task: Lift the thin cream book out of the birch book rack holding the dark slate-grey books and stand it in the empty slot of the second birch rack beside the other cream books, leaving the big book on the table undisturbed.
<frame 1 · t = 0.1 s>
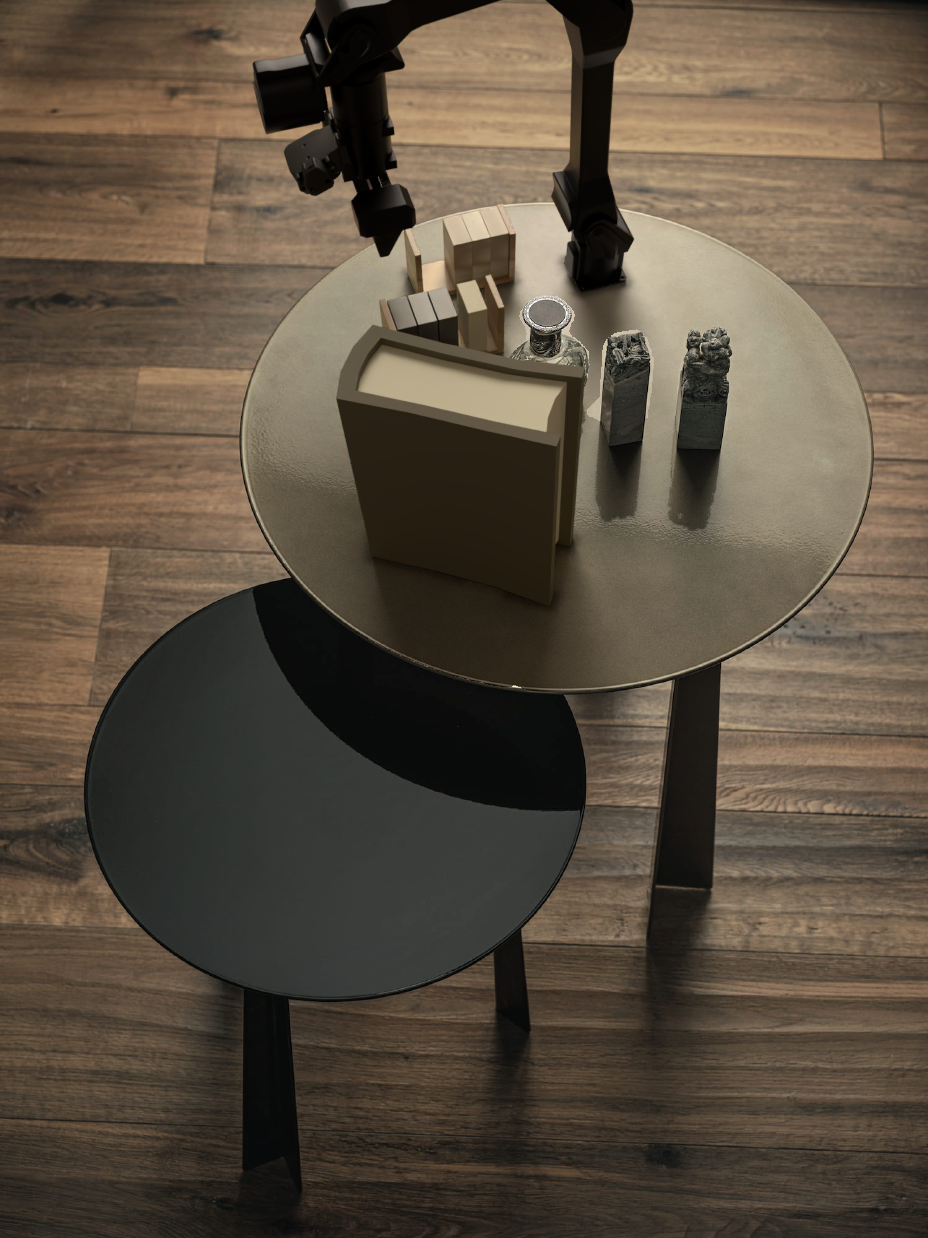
hand: (374, 228, 126), 15 cm above the table, tool pointing down, fingers open, 9 cm apart
book: (466, 546, 123), on the table
cream book: (472, 337, 137), point 1 cm above the table, touching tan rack
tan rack: (444, 349, 137), on the table
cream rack: (460, 276, 143), on the table
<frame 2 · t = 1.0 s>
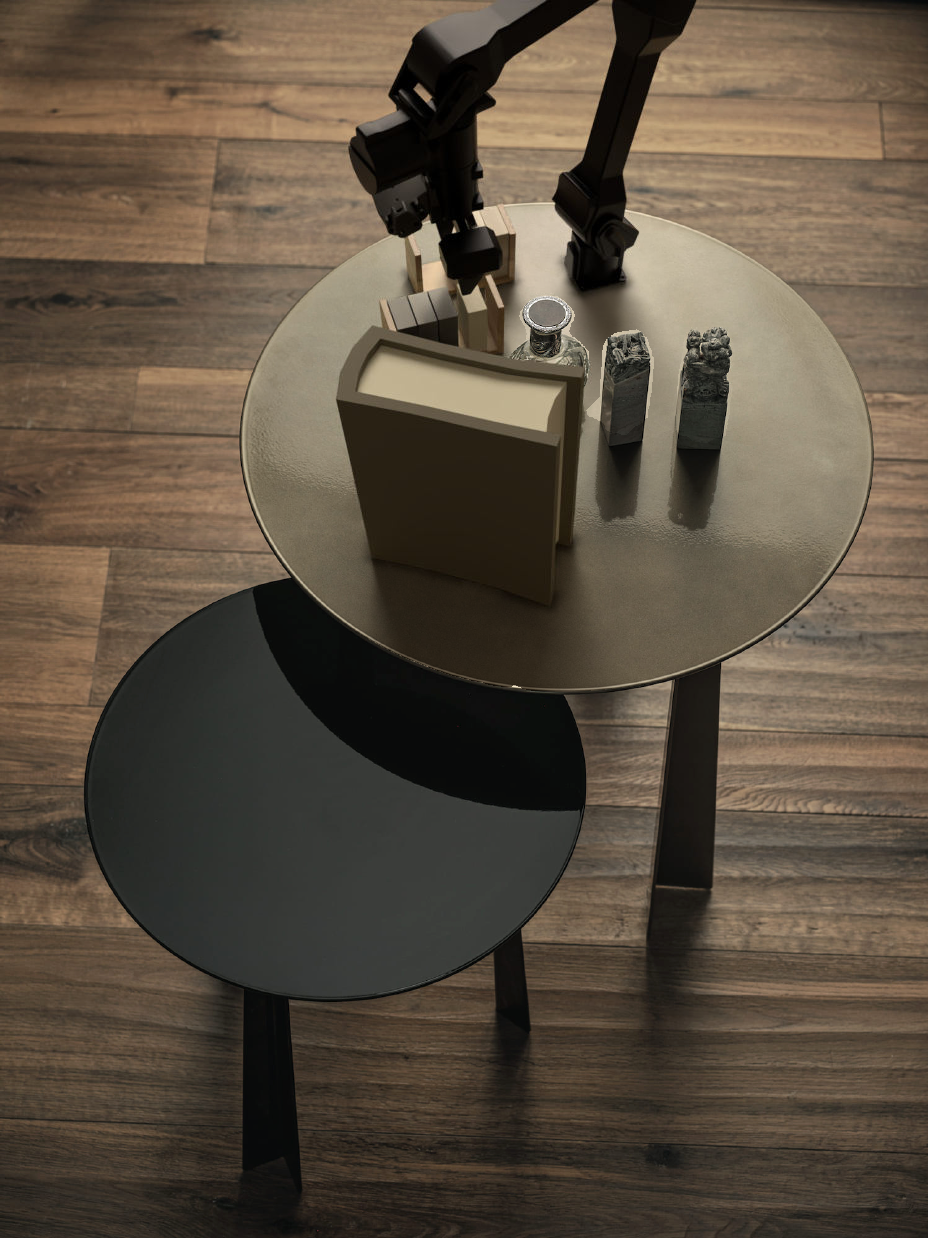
hand: (455, 266, 127), 12 cm above the table, tool pointing down, fingers open, 9 cm apart
nothing on the table moved.
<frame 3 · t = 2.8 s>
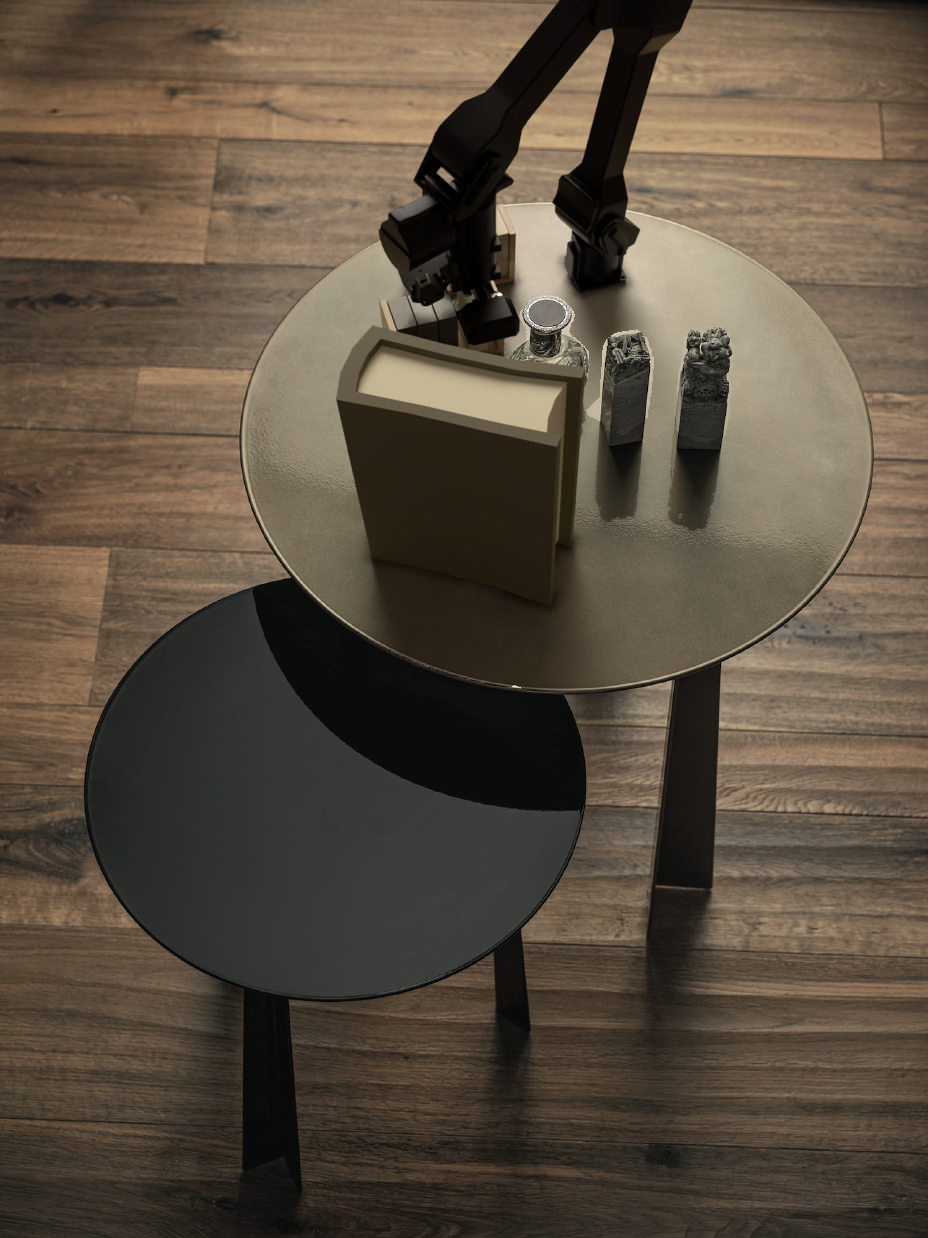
hand: (472, 327, 135), 3 cm above the table, tool pointing down, fingers closed on cream book, 5 cm apart
cream book: (472, 337, 137), point 1 cm above the table, touching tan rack, gripper
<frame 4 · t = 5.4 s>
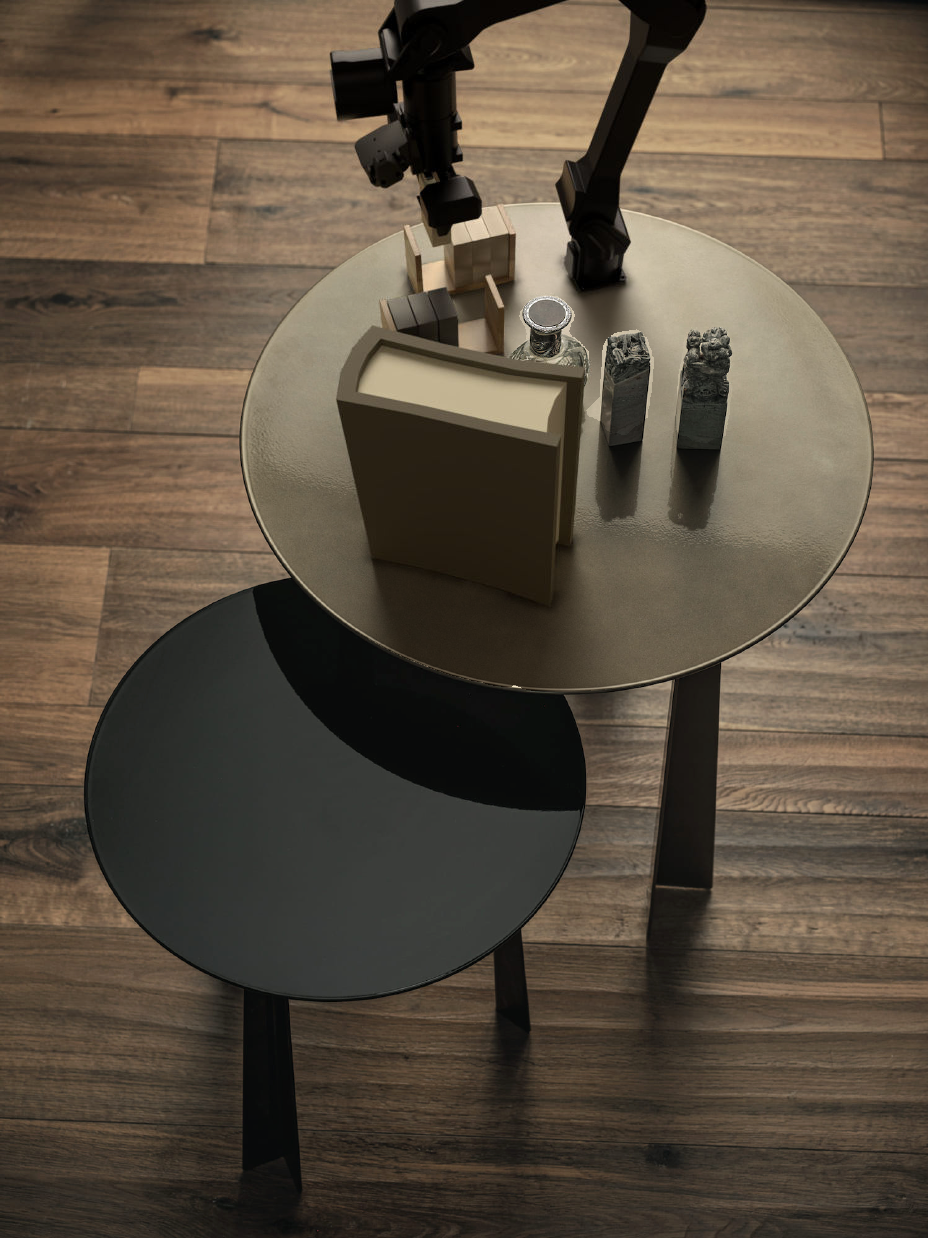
hand: (436, 220, 131), 12 cm above the table, tool pointing down, fingers closed on cream book, 5 cm apart
cream book: (436, 231, 133), point 10 cm above the table, touching gripper
everything else where it was.
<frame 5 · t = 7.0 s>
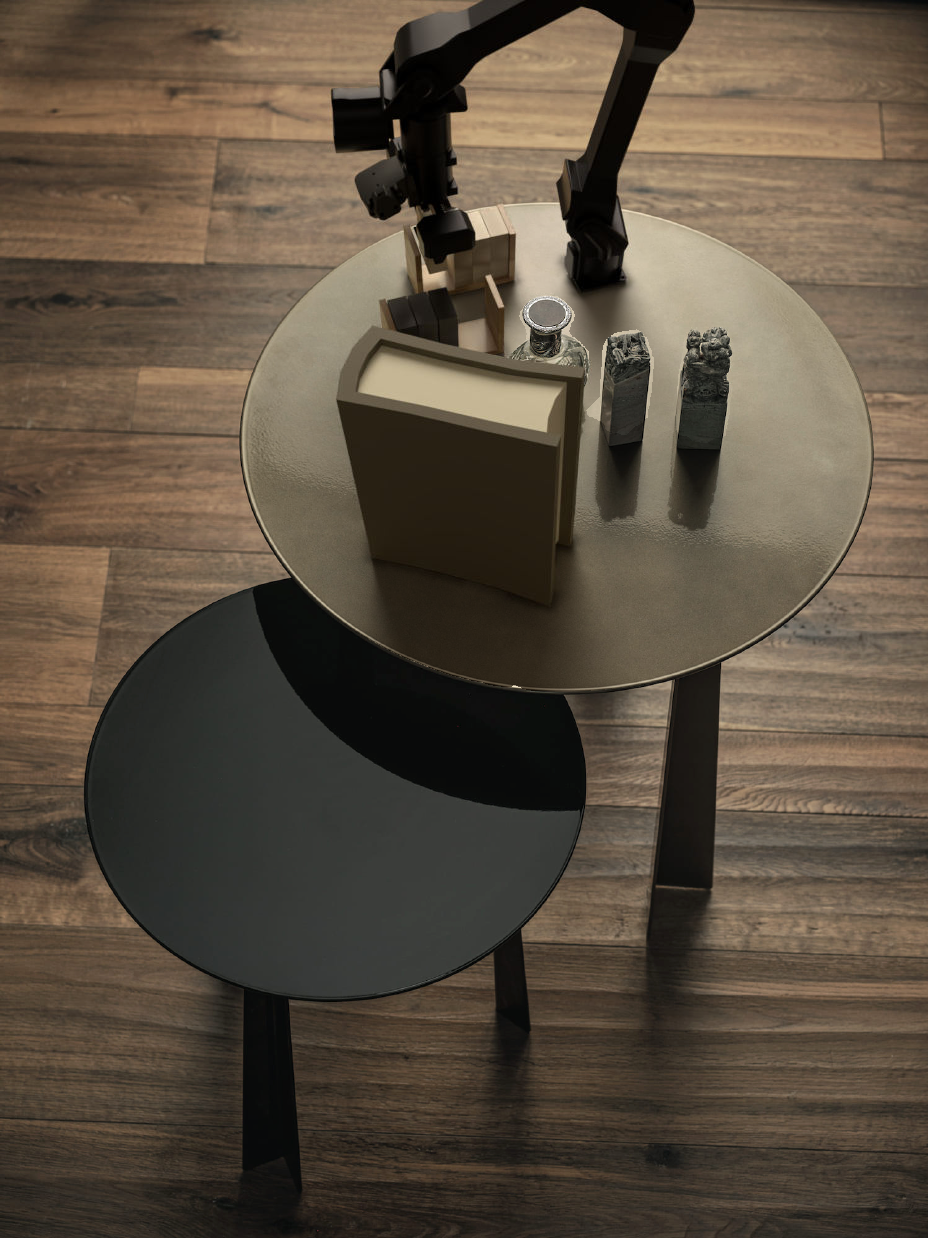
hand: (432, 248, 137), 6 cm above the table, tool pointing down, fingers closed on cream book, 5 cm apart
cream book: (433, 259, 139), point 4 cm above the table, touching gripper
everything else where it was.
when the fingers open (2 cm above the table, at t = 8.4 s): cream book stays where it is, resting on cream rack.
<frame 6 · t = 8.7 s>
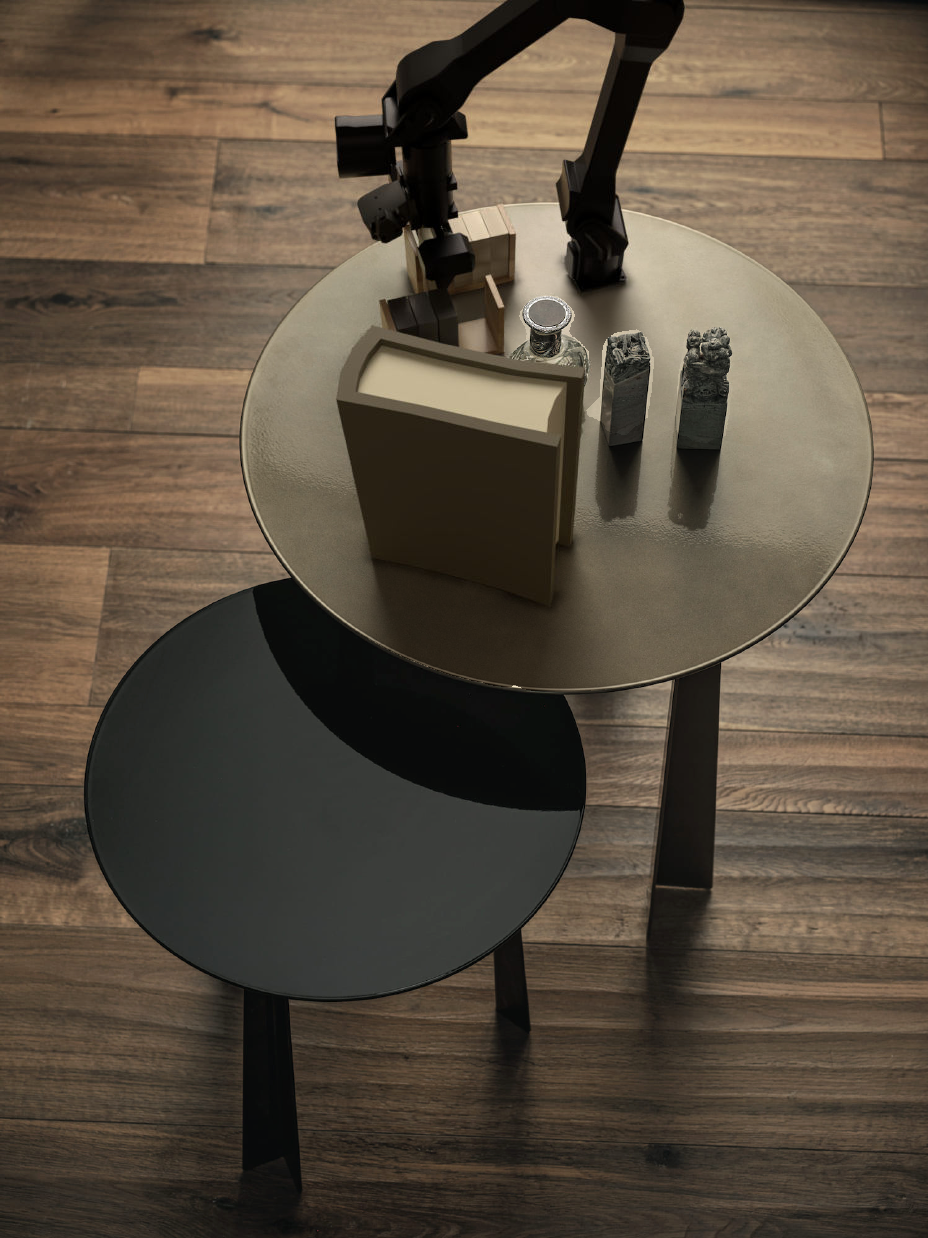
hand: (433, 269, 140), 2 cm above the table, tool pointing down, fingers open, 8 cm apart
cream book: (434, 278, 142), point 1 cm above the table, touching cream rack
everything else where it was.
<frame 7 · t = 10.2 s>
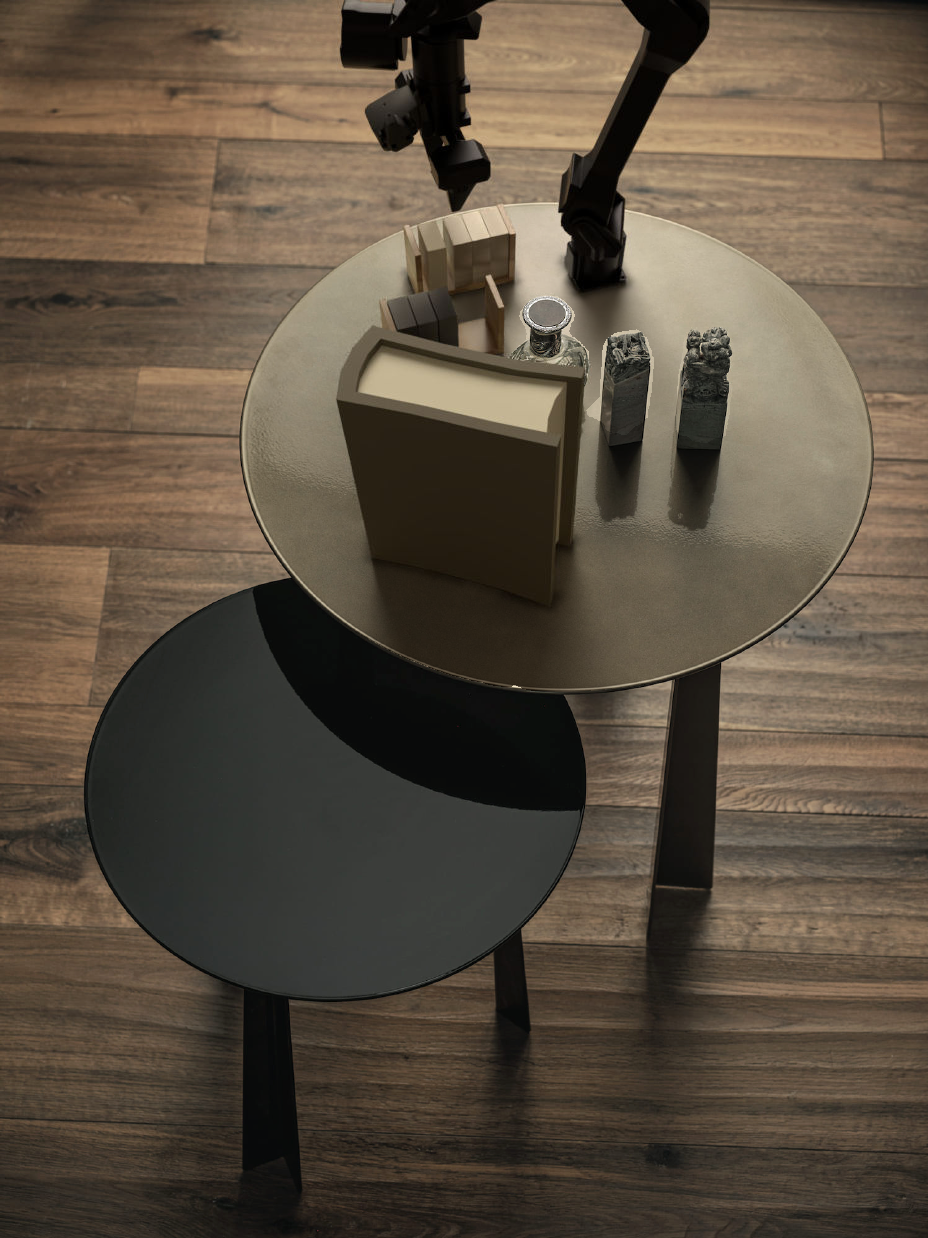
hand: (444, 185, 134), 12 cm above the table, tool pointing down, fingers open, 9 cm apart
nothing on the table moved.
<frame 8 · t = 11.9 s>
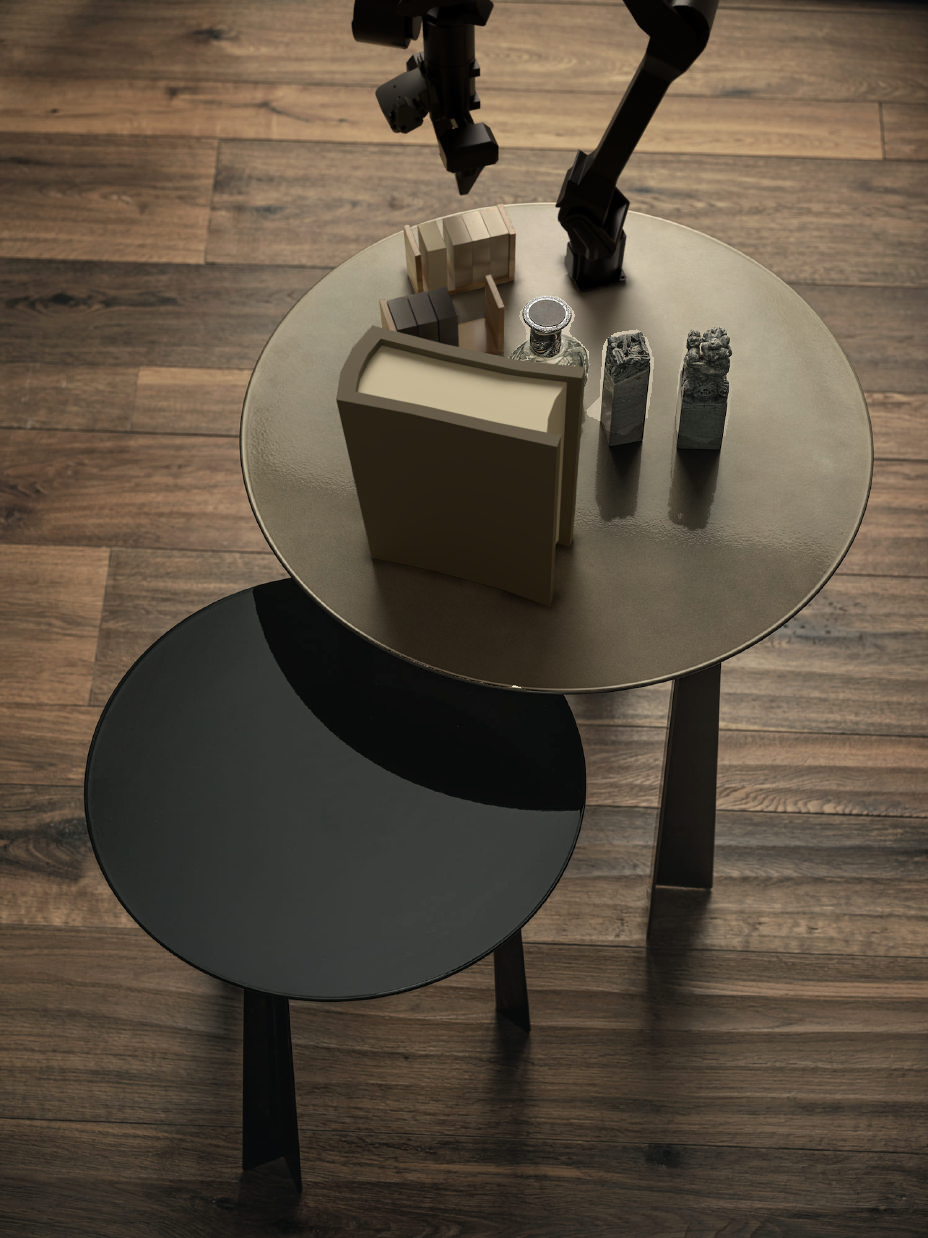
hand: (453, 169, 135), 12 cm above the table, tool pointing down, fingers open, 9 cm apart
nothing on the table moved.
at the end: cream book 0.0 cm from the target spot on the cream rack, point 0.8 cm above the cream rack's base; cream book tilted 0°; book moved 0.2 cm from its start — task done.
